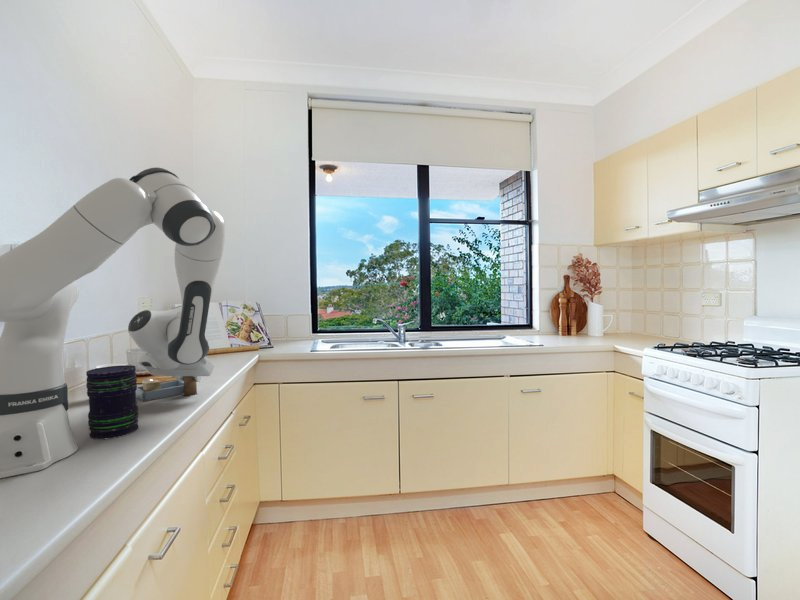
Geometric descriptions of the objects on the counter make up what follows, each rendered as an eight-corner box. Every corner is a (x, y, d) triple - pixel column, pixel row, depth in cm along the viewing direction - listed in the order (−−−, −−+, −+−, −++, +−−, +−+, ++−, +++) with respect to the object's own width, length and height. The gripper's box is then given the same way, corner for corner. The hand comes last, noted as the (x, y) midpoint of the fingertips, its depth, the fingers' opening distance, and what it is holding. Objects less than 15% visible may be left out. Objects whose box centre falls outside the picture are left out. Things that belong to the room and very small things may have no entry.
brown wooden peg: (186, 396, 133) (185, 370, 133) (182, 394, 136) (181, 369, 136) (198, 393, 136) (197, 368, 136) (194, 392, 139) (193, 367, 138)
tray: (142, 401, 129) (142, 392, 129) (133, 395, 136) (133, 387, 136) (190, 392, 138) (190, 384, 138) (179, 387, 146) (179, 379, 146)
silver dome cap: (144, 394, 134) (143, 381, 134) (141, 392, 136) (141, 380, 136) (155, 392, 136) (154, 379, 136) (152, 390, 139) (151, 378, 138)
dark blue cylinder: (79, 441, 96) (76, 374, 95) (101, 427, 105) (98, 366, 105) (129, 437, 98) (125, 371, 97) (145, 423, 107) (143, 364, 107)
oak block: (146, 397, 131) (146, 383, 130) (143, 394, 133) (142, 382, 133) (161, 394, 133) (160, 381, 133) (157, 392, 136) (156, 379, 136)
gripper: (205, 345, 127) (225, 371, 137) (143, 345, 130) (167, 371, 140) (196, 363, 123) (217, 389, 133) (132, 363, 126) (157, 388, 136)
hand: (191, 379), depth 136 cm, fingers closed on brown wooden peg, 4 cm apart
